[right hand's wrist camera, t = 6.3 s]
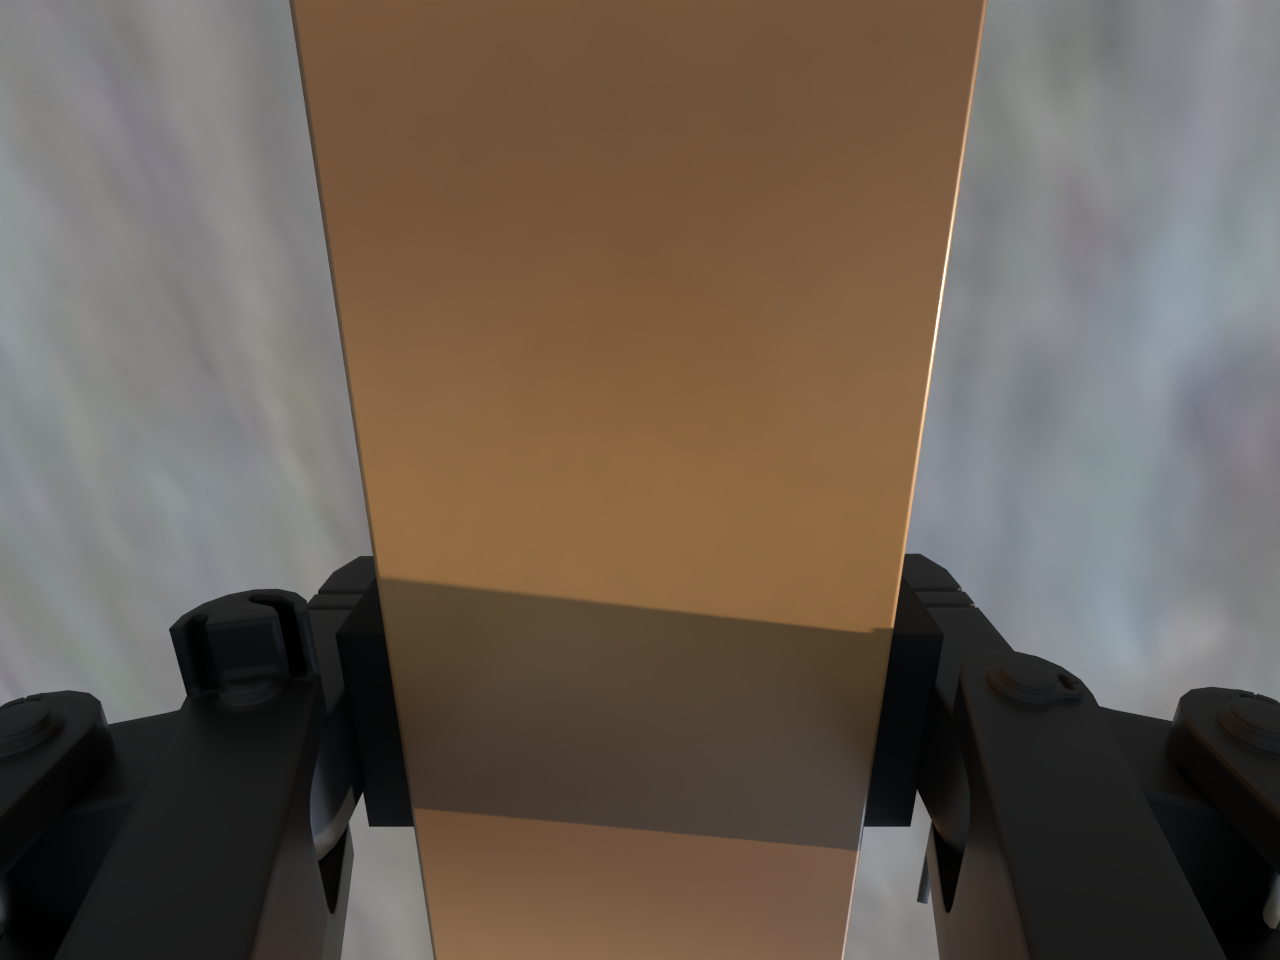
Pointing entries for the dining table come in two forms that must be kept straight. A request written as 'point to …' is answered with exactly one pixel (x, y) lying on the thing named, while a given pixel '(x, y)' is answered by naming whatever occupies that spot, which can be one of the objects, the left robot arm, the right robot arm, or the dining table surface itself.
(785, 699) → the beam
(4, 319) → the dining table surface
